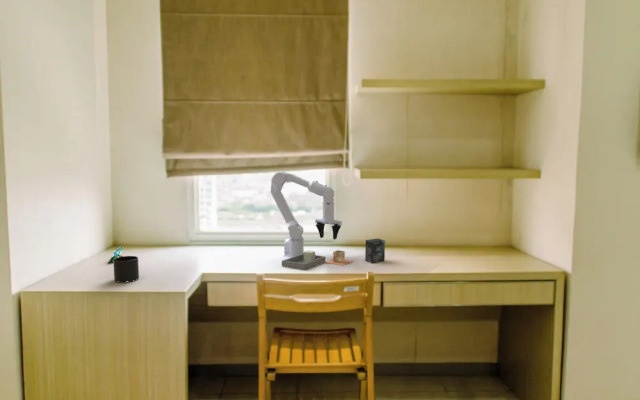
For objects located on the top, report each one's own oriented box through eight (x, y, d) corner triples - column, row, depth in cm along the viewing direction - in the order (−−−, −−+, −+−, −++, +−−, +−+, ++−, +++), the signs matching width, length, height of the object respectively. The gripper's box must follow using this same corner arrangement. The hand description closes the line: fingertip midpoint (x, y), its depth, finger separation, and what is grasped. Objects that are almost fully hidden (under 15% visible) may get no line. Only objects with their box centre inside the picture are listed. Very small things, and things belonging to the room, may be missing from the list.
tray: (281, 267, 210) (281, 260, 210) (303, 259, 225) (303, 253, 225) (304, 270, 203) (304, 264, 203) (325, 262, 218) (325, 256, 218)
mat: (324, 263, 216) (324, 262, 216) (335, 259, 225) (335, 258, 225) (342, 266, 211) (342, 265, 211) (353, 262, 219) (353, 260, 219)
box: (372, 263, 216) (372, 241, 215) (364, 261, 221) (365, 239, 220) (385, 261, 221) (385, 239, 219) (377, 259, 225) (377, 238, 224)
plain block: (303, 262, 217) (303, 252, 217) (308, 260, 221) (308, 250, 220) (310, 263, 215) (310, 253, 215) (315, 261, 219) (315, 251, 218)
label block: (333, 262, 217) (333, 251, 216) (337, 260, 220) (337, 249, 220) (340, 263, 215) (340, 252, 214) (344, 261, 218) (344, 250, 217)
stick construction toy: (114, 253, 228) (121, 242, 226) (126, 260, 230) (133, 249, 227) (103, 266, 217) (110, 254, 215) (116, 273, 219) (123, 262, 216)
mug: (141, 274, 198) (140, 254, 197) (137, 282, 187) (136, 260, 186) (118, 275, 196) (117, 255, 195) (112, 283, 184) (111, 261, 183)
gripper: (311, 211, 228) (311, 238, 230) (336, 213, 221) (336, 241, 222) (319, 209, 234) (319, 236, 236) (344, 211, 227) (343, 238, 228)
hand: (328, 238), depth 229 cm, fingers open, 7 cm apart
